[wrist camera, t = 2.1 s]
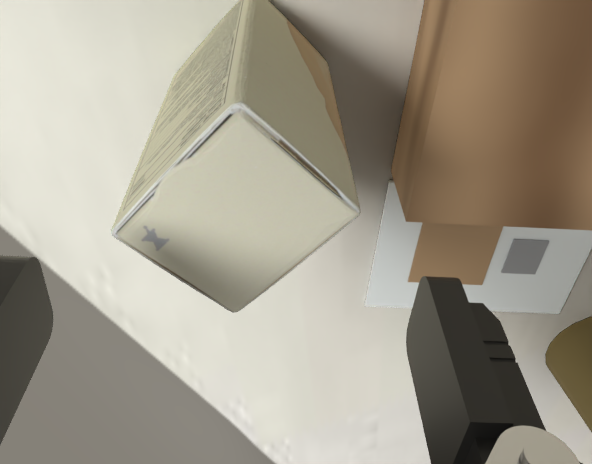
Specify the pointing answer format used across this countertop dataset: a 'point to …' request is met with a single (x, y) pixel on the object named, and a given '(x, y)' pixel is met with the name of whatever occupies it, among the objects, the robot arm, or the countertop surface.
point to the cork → (574, 365)
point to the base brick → (499, 115)
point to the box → (242, 162)
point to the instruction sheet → (475, 262)
